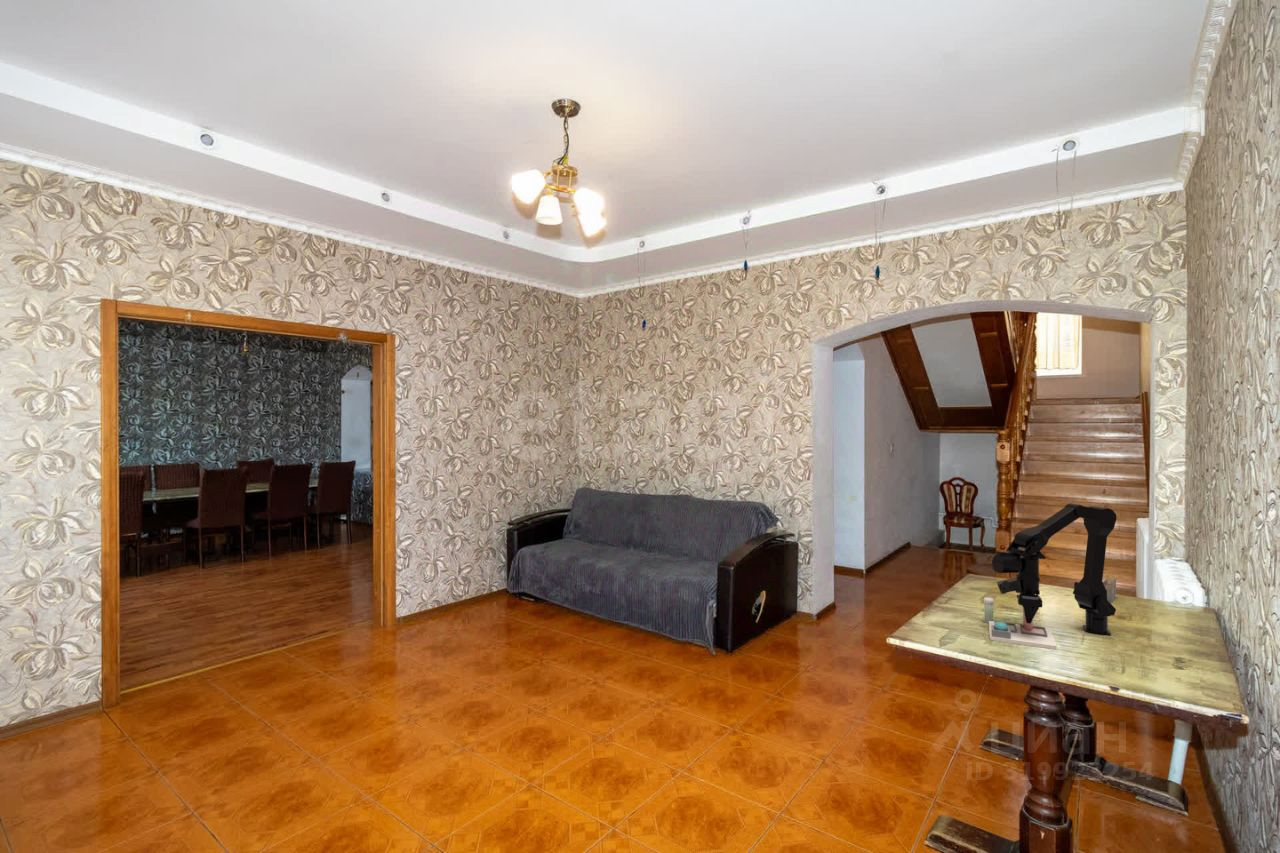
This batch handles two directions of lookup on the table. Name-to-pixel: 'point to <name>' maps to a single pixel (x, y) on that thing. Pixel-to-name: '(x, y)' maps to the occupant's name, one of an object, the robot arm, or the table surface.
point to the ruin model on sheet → (1110, 587)
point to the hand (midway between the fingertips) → (1028, 621)
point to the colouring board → (1023, 635)
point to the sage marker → (988, 609)
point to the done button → (1000, 626)
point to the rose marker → (1027, 625)
